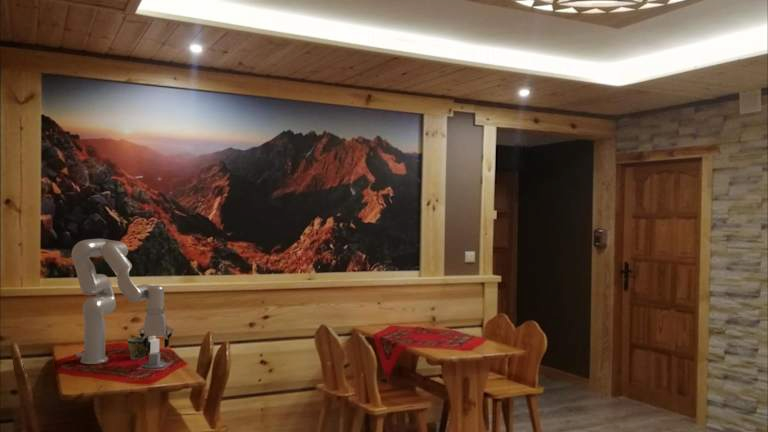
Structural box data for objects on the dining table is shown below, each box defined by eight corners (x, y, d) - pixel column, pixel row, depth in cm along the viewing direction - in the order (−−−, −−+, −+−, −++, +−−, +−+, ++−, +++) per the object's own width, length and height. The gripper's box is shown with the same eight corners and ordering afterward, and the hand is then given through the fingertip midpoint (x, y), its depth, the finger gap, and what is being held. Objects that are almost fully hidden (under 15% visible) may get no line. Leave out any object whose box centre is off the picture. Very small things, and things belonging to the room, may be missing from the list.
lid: (138, 368, 321) (139, 356, 320) (147, 362, 332) (147, 350, 331) (162, 369, 321) (162, 356, 320) (169, 363, 332) (169, 351, 331)
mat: (136, 370, 320) (136, 369, 320) (145, 363, 333) (145, 362, 333) (163, 371, 320) (163, 370, 320) (172, 364, 333) (172, 363, 333)
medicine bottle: (139, 353, 351) (139, 330, 351) (148, 350, 358) (149, 328, 357) (150, 355, 348) (150, 332, 348) (159, 352, 355) (159, 329, 355)
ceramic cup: (128, 356, 344) (128, 337, 344) (149, 356, 347) (149, 336, 346) (125, 363, 332) (125, 342, 331) (146, 362, 334) (147, 342, 334)
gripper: (135, 312, 321) (135, 348, 322) (171, 312, 321) (171, 348, 322) (140, 310, 329) (141, 345, 329) (176, 310, 329) (176, 345, 329)
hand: (156, 346), depth 326 cm, fingers open, 9 cm apart
